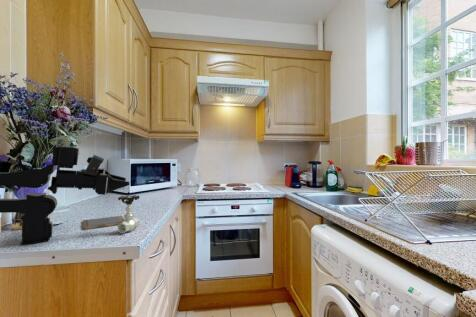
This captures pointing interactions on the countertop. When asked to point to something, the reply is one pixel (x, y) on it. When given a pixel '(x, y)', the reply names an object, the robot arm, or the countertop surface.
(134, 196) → the valve
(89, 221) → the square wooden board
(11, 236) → the countertop surface
